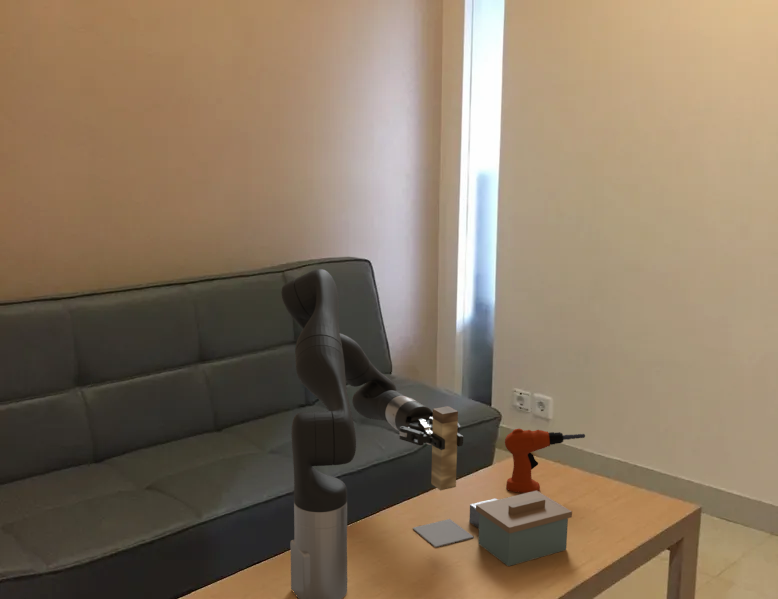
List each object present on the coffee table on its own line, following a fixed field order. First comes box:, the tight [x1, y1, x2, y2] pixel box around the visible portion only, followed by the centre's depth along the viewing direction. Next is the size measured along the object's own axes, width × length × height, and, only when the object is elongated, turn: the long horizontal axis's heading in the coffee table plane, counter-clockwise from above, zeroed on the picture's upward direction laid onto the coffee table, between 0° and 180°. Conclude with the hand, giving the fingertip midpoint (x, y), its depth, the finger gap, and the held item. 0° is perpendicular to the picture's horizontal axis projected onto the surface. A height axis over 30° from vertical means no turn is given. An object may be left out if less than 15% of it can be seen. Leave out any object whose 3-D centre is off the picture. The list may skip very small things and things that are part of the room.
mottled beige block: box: [430, 405, 459, 491], centre depth 166 cm, size 4×4×16 cm
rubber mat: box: [412, 518, 474, 549], centre depth 170 cm, size 9×9×1 cm
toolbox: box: [476, 491, 573, 567], centre depth 163 cm, size 15×11×10 cm
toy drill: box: [504, 428, 586, 494], centre depth 190 cm, size 5×19×15 cm, turn 85°
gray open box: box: [468, 498, 499, 530], centre depth 173 cm, size 7×7×4 cm
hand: (452, 443), depth 163 cm, fingers closed on mottled beige block, 3 cm apart
